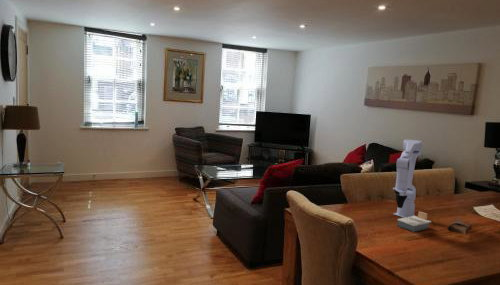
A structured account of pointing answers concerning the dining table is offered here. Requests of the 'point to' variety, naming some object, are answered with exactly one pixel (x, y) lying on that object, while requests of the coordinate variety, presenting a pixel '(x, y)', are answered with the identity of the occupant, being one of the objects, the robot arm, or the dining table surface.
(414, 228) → the tub
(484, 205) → the dining table surface
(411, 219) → the lid
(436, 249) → the dining table surface
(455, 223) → the sunglasses case
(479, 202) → the dining table surface
